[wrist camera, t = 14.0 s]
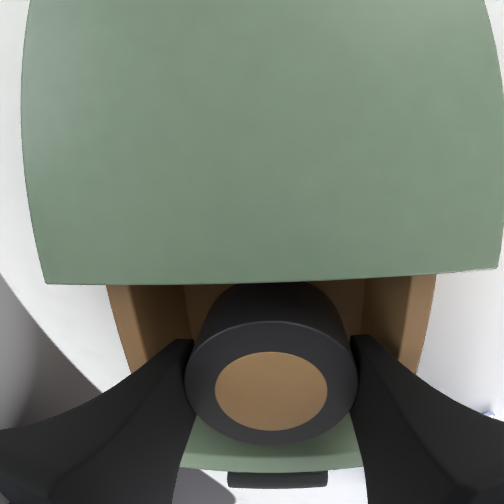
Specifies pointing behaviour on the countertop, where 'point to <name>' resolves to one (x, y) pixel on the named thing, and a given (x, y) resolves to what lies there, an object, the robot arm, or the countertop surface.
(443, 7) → the cabinet
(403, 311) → the drawer
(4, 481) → the robot arm
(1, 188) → the countertop surface
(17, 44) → the countertop surface
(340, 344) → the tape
